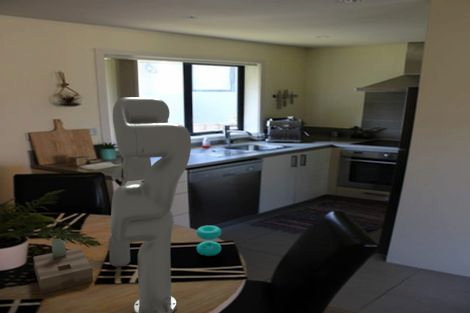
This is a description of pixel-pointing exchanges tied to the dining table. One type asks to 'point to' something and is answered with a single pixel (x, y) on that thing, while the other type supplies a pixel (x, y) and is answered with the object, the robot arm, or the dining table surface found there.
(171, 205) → the robot arm
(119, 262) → the can
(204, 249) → the donuts
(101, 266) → the dining table surface
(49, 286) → the block
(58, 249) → the peg
